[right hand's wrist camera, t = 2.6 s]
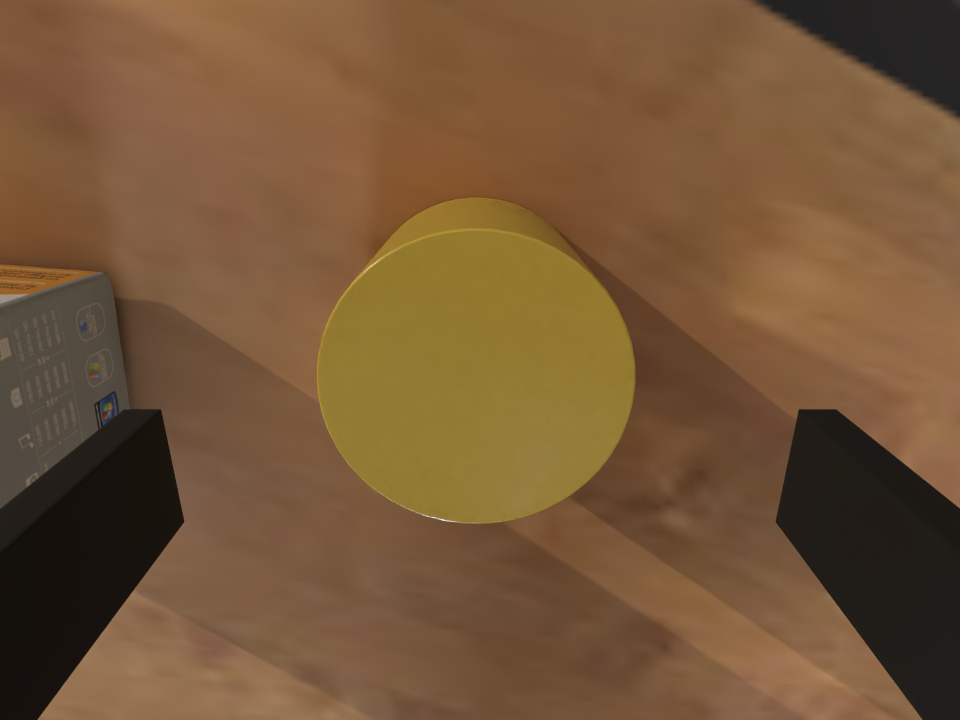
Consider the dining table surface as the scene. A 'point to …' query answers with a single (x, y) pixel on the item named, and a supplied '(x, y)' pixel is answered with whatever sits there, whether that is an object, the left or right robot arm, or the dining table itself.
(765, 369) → the dining table surface
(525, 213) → the can
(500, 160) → the dining table surface
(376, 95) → the dining table surface
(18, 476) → the hard drive box
